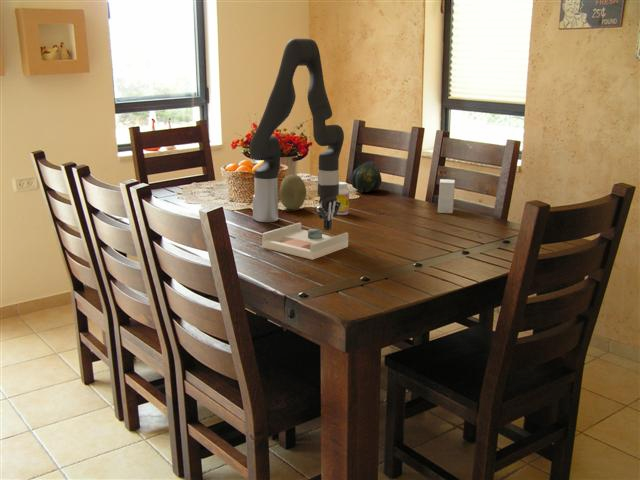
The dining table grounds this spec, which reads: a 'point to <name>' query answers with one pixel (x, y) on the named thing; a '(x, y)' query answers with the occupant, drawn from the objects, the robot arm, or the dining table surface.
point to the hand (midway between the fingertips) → (327, 229)
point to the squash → (366, 177)
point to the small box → (446, 196)
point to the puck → (314, 233)
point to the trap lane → (302, 242)
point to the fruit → (292, 192)
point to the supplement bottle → (343, 199)
